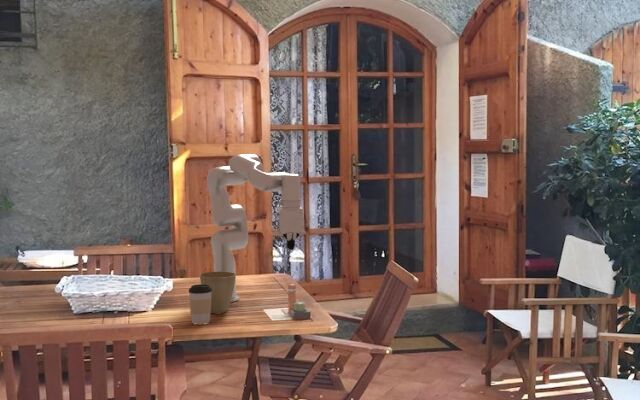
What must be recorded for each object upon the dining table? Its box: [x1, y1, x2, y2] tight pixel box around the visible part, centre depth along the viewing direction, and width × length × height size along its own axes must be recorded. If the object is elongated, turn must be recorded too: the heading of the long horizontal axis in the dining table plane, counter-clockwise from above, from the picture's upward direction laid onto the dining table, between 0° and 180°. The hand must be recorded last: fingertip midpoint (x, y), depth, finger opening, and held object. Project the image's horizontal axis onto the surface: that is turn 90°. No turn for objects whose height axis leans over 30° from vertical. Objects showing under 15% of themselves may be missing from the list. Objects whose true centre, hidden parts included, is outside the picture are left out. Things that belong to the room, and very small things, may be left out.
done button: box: [294, 301, 306, 312], centre depth 299 cm, size 4×4×5 cm
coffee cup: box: [188, 283, 212, 325], centre depth 293 cm, size 9×9×15 cm
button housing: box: [289, 307, 312, 320], centre depth 299 cm, size 7×7×2 cm
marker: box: [287, 283, 297, 312], centre depth 307 cm, size 3×3×11 cm
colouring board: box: [263, 307, 313, 322], centre depth 304 cm, size 16×20×1 cm
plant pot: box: [199, 271, 237, 315], centre depth 310 cm, size 15×15×16 cm
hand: (290, 249), depth 302 cm, fingers closed
